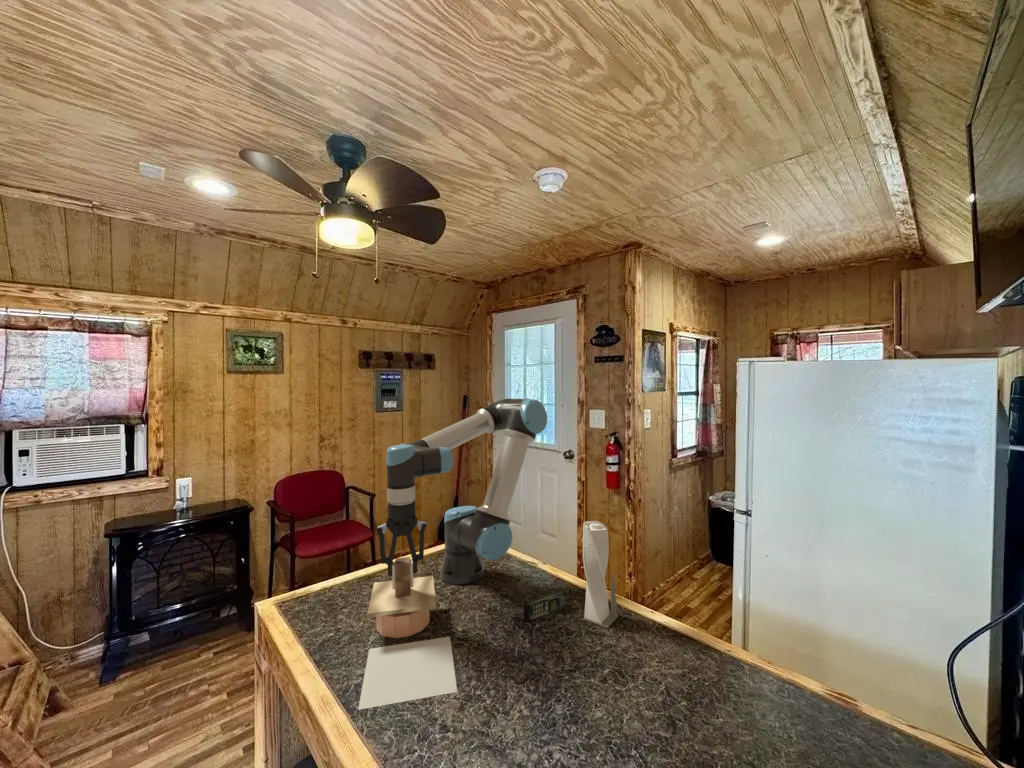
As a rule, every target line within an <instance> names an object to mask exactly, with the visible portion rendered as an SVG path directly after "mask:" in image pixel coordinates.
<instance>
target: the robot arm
mask: <svg viewBox="0 0 1024 768" xmlns="http://www.w3.org/2000/svg"><path fill="white" fill-rule="evenodd" d="M547 423H548V414H547V411H546V407H545V406H544V404H543V403H542V402H541V401H539V400H537V399H531V398H504V399H501V400H497V401H495V402H493V403H490V404H488V405H485V406H484V407H482V408H480V409H478V410H477V411H476V414H473V415H471V416H469V417H466V418H464V419H461V420H460V421H458V422H456V423H453V424H451V425H449V426H447V427H444V428H442V429H440V430H438V431H435V432H434V433H431V434H429V435H427V436H425V437H423V438H420V439H418V440H416V441H413V442H405V443H404V442H403V443H401V444H396V445H391V446H389V447H388V448H387V450H386V462H385V466H386V481H387V482H386V495H387V496H386V497H387V498H386V500H387V501H386V502H388V504H387V519H386V522H385V523H383V524H381V525H380V524H379V525H377V528H376V533H377V535H378V537H379V539H378V540H379V554H380V556H379V557H380V563H381V564H382V565H384V564H386V565H387V576H388V577H391V579H392V580H391V581H392V587H393V589H395V561H393V560H394V556H395V551H396V545H397V541H398V538H399V537H402V536H404V537H406V539H407V543H408V544H407V545H408V548H409V552H410V558H411V559H410V587H413V578H414V574H418V561H420V560H423V559H424V557H425V556H424V555H425V553H424V552H425V550H424V549H425V548H424V547H425V530H426V528H427V521H425V520H423V521H421V520H418V518H417V515H416V501H415V500H416V478H421V477H422V478H423V477H427V476H434V475H438V474H439V475H441V474H443V473H447V472H450V470H451V469H452V467H453V465H454V456H453V453H452V450H453V449H455V448H457V447H459V446H461V445H463V444H466V443H467V442H469V441H471V440H473V439H476V438H478V437H479V436H482V435H484V434H487V435H488V434H492V433H494V432H497V431H502V433H503V435H504V439H503V442H502V446H501V449H500V451H499V454H498V457H497V461H496V463H495V466H494V470H493V473H492V476H491V480H490V481H489V486H488V489H487V491H486V495H485V497H484V501H483V503H482V505H481V506H479V507H477V506H475V505H463V506H457V507H453V508H449V509H447V510H446V511H445V513H444V517H443V518H444V521H443V523H444V556H443V559H442V563H441V567H440V569H439V571H440V573H439V575H440V576H439V577H440V579H441V580H442V581H443V582H445V583H448V584H450V585H467V584H471V583H475V582H477V581H479V580H480V579H482V578H483V577H484V575H485V566H484V562H483V560H482V558H483V559H486V560H488V561H496V560H498V559H499V558H501V557H502V556H504V555H505V554H506V553H507V552H508V551H509V549H510V547H511V546H512V542H513V533H512V528H511V527H510V522H511V518H510V515H509V510H510V507H511V503H512V500H513V498H514V493H515V491H516V488H517V483H518V481H519V477H520V474H521V470H522V468H523V464H524V460H525V457H526V454H527V450H528V447H529V445H530V444H532V443H533V442H535V440H536V437H537V434H540V433H542V432H543V431H544V430H545V429H546V427H547V425H548V424H547ZM416 526H417V529H418V530H419V536H418V538H419V540H418V541H419V543H418V546H419V547H418V548H419V549H418V553H417V551H416V547H415V546H416V545H415V543H414V538H413V533H412V532H413V531H414V529H415V527H416ZM387 530H389V532H390V533H391V534H392V539H391V543H390V548H389V555H388V557H387V553H386V551H387V550H386V537H385V536H386V535H385V533H386V531H387Z"/></svg>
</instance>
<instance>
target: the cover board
mask: <svg viewBox="0 0 1024 768" xmlns="http://www.w3.org/2000/svg"><path fill="white" fill-rule="evenodd" d="M394 559H395V589H393V587H392V580H388V581H387V580H386V581H378V582H376V581H375V582H373V586H372V591H371V594H370V600H369V605H368V608H367V609H368V610H367V614H366V615H367V617H366V618H367V619H369V618H376V617H377V616H384V615H391V614H399V613H406V612H413V611H421V610H428V609H429V610H434V609H436V608H437V602H436V593H435V591H436V590H435V581H434V580H435V579H434V575H429V576H428V575H427V576H419V577H413V587H410V560H411V556H405V557H397V558H394Z"/></svg>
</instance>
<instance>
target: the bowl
mask: <svg viewBox="0 0 1024 768" xmlns="http://www.w3.org/2000/svg"><path fill="white" fill-rule="evenodd" d="M375 618H376V619H375V620H376V631H377V632H378V633H379V634H380V635H381V636H382V637H388V638H391V639H392V638H394V639H399V638H406V637H411V636H413V635H415V634H417V633H420V632H422V631H423V630H425V628H426V627H427V626H428V625H429V623H430V621H431V620H430V618H431V617H430V609H428V610H421V611H413V612H406V613H399V614H391V615H384V616H377V617H375Z"/></svg>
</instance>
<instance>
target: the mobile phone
mask: <svg viewBox="0 0 1024 768" xmlns="http://www.w3.org/2000/svg"><path fill="white" fill-rule="evenodd" d="M567 604H568V603H567V602H566V596H565V594H564V593H563V592H561V591H556V592H551V593H547V594H545V595H542V596H539V597H535V598H533V599H530V600H527V601H526V602H524V604H523V605H522V606H523V607H522V609H523V613H522V614H523V619H524V620H525V622H531V621H533V619H534V620H536V618H537V619H539V618H542V617H545V616H549V615H553V614H556V613H557V612H559V611H561V610H562V609H563V608H564V607H565V606H566V605H567Z"/></svg>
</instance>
